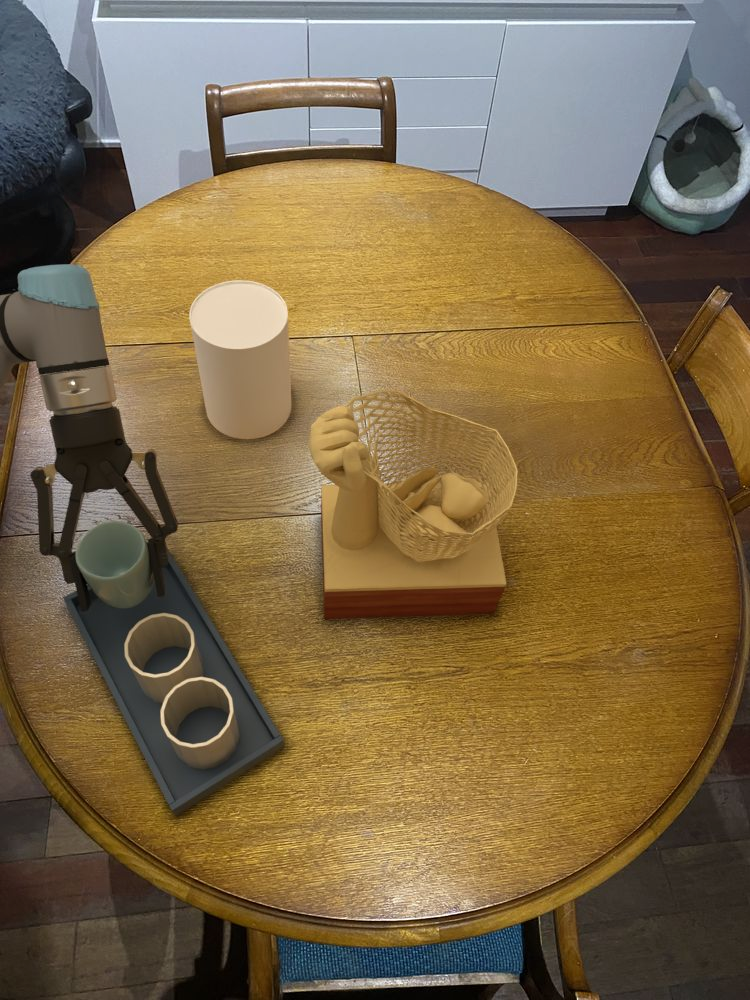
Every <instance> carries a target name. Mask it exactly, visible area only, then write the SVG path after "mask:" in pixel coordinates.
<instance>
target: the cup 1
mask: <svg viewBox="0 0 750 1000" xmlns="http://www.w3.org/2000/svg"><path fill="white" fill-rule="evenodd" d="M147 543H148V541H147V540H146V537H145V535H144V534H143V533H142V532H141V530H140V529H138V528H137V527H136V526H135V525H133V524H131V523H128V522H125V521H121V520H107V521H102V522H100V523H98V524H95V525H94V526H92V527H90V529H88V530H87V531H86V532H85V534H84V535H83V536H82V537H81V538H80V539H79V541H78V544H77V546H76V549H75V552H76V553H75V556H76V563H77V565H78V568H79V570H80V572H81V574H82V576H83V578H84V579H85V581H86V583H87V585H88V586H89V588H90V589H91V590H92V591H93V593H94V594H95V595H96V596H97V597H98V598H99V599H100V600H101V601H103V602H104V603H106V604H108V605H110V606H112V607H115V608H121V609H124V608H131V607H134V606H136V605H138V604H140V603H141V602H143V601H144V600H145V599H146V598H147V596H148V595H149V594H150V592H151V590H152V588H153V585H154V581H155V580H154V575H153V570H152V565H151V560H150V556H149V551H148V546H147Z"/></svg>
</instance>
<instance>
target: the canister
mask: <svg viewBox="0 0 750 1000" xmlns="http://www.w3.org/2000/svg"><path fill="white" fill-rule="evenodd" d="M288 309H289V308H288V306H287V303H286V301H285V300H284V298H283V297H282V296H281V294H280V293H278V292H277V290H275V289H273V288H272V287H270V286H269V285H266V284H263V283H261V282H258V281H253V280H248V279H247V280H246V279H245V280H243V279H237V280H236V279H235V280H226V281H223V282H219V283H216V284H213V285H212V286H209V287H208V288H206V289H204V290H203V291H201V292H200V293H199V294H198V295H197V296H196V297H195V299H194V300H193V302H192V303H191V306H190V308H189V314H188V317H189V325H190V329H191V335H192V340H193V341H192V342H193V346H194V352H195V357H196V362H197V368H198V374H199V379H200V385H201V390H202V391H201V392H202V396H203V402H204V407H205V412H206V413H205V414H206V417H207V419H208V421H209V422H210V424H211V425H212V427H214V428H215V429H216V430H217V431H218V432H220V433H221V434H223V435H225V436H228V437H231V438H233V439H239V440H240V439H241V440H255V439H260V438H264V437H267V436H269V435H272V434H274V433H275V432H276V431H278V430H279V429H281V428H283V426H284V425H285V424H286V423H287V421H288V419H289V418H290V415H291V412H292V387H291V386H292V385H291V384H292V383H291V356H290V332H289V331H290V330H289V328H290V327H289V310H288Z"/></svg>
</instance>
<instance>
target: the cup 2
mask: <svg viewBox="0 0 750 1000" xmlns="http://www.w3.org/2000/svg"><path fill="white" fill-rule="evenodd" d="M124 645H125V658H126V660H127V662H128V663H129V665H130V667H131V669H132V671H133V673H134V675H135V677H136V678H137V680H138V682H139V684H140V686H141V688H142V690H143V692H144V693H145V695H146V696H148V697H149V698H150V699H152V700H153V701H154V702H158V703H163V702H164V699H165V697H166V696H167V695H168V693H169V692H170V691H171V690H172V689H173V687H174V686H176V685H178V684H179V683H181V682H183V681H185V680H186V679H190V678H196V677H203V675H204V668H203V661H202V658H201V654H200V651H199V648H198V645H197V642H196V639H195V636H194V633H193V631H192V629H191V628H190V626H189V624H188V623H187V622H186V621H185V620H183V619H182V618H180V617H179V616H177V615H172V614H167V613H161V614H154V615H150V616H148V617H146V618H144V619H143V620H141V621H139V622H138V623H137V624H136V625H135V626H134V627H133V628H132V629H131V630H130V632H129V634H128V636H127V639H126V641H125V644H124ZM172 646H178V647H183V648H187V649H188V650H189V653H188V656H187V657H186V659H185V660H184V661H183V662H182V663H181V664H180V666H178V667H177V668H175V669H173V670H171V671H169V672H167V673H161V674H150V673H145V672H143V670H144V667H145V664H146V662H147V661H148V660H149V659H150V657H151V656H152V655H153V654H154V653H156V652H158V651H159V650H161V649H163V648H166V647H172Z"/></svg>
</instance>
